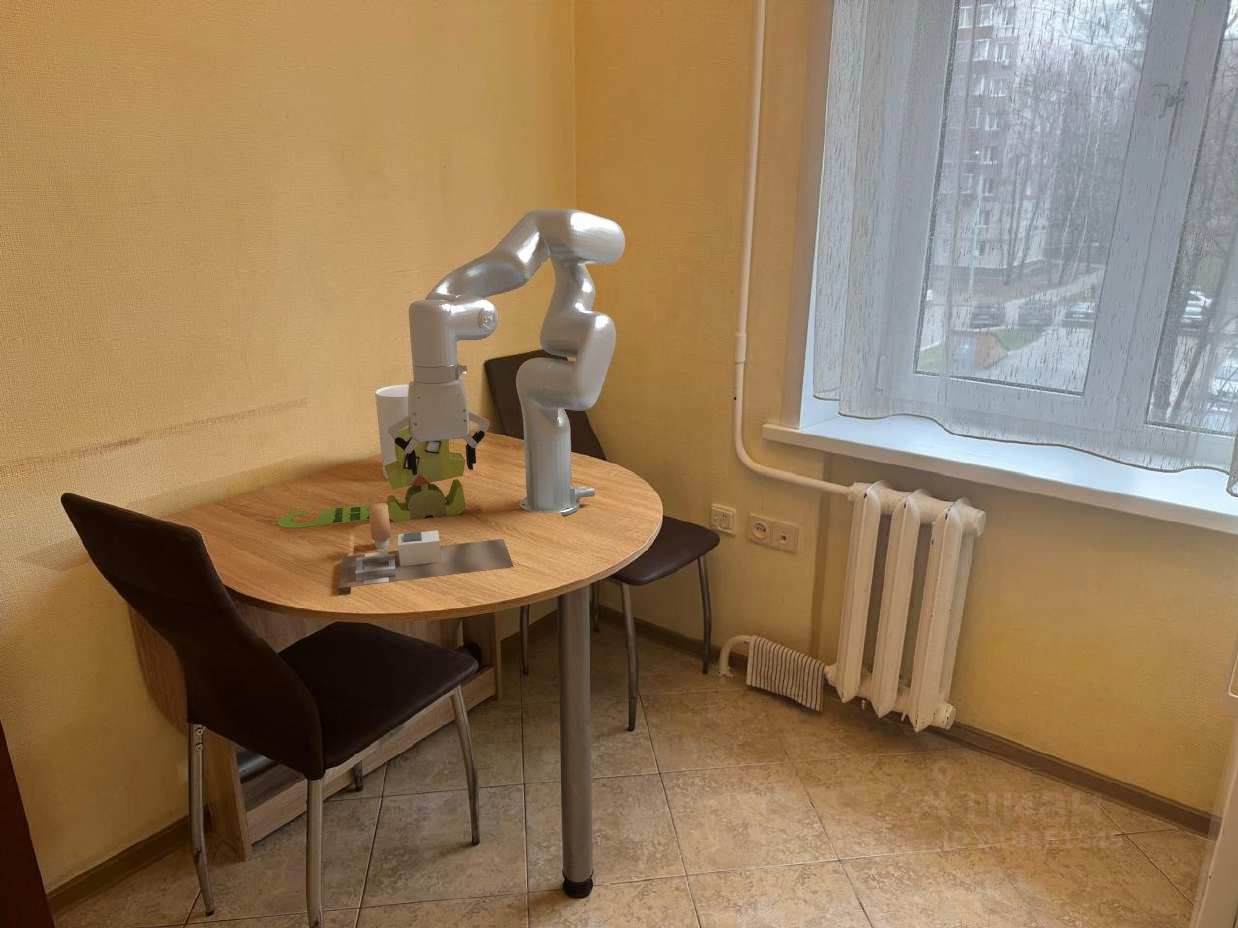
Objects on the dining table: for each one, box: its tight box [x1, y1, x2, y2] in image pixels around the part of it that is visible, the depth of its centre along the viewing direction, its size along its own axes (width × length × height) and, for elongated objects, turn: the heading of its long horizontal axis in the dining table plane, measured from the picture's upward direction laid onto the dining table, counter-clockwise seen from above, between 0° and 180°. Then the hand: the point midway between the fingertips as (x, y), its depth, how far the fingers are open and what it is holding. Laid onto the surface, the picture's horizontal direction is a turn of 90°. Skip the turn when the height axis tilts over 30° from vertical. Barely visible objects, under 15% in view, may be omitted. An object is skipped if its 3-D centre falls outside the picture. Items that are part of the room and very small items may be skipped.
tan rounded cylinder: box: [368, 502, 392, 550], centre depth 152 cm, size 3×3×9 cm
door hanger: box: [277, 500, 404, 529], centre depth 171 cm, size 9×1×25 cm
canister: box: [374, 383, 409, 480], centre depth 195 cm, size 14×14×20 cm
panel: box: [338, 538, 515, 595], centre depth 146 cm, size 29×13×3 cm, turn 105°
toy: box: [385, 427, 467, 523], centre depth 166 cm, size 16×6×20 cm, turn 110°
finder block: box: [397, 530, 441, 566], centre depth 146 cm, size 7×5×4 cm
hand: (442, 470), depth 145 cm, fingers open, 9 cm apart
